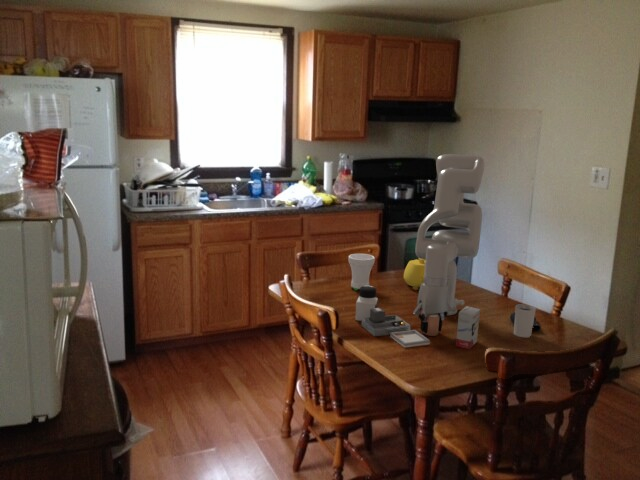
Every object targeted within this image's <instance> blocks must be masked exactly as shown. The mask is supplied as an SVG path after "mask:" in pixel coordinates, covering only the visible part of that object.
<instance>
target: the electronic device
mask: <svg viewBox="0 0 640 480" xmlns="http://www.w3.org/2000/svg"><path fill="white" fill-rule="evenodd" d="M509 320H510V321H511V323H512V324H513V325H514V322H515V312H512V313H510V315H509ZM533 327H534V329H532V330H535V331H534V332H538V331H540V330H541V329H542V328H541V325H540V324H539V323H538V322H537V317H536V315H535V316H534V322H533Z"/></svg>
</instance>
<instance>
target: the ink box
mask: <svg viewBox="0 0 640 480" xmlns="http://www.w3.org/2000/svg"><path fill="white" fill-rule="evenodd" d="M480 313H481V308H476V307H471V306H468V305H467V306H464V308H462V309H461V310H460V311H458V319H457V328H456V329H457V330H456V338H455V347H458V348H461V349H466V350H471V349H472V347H473V346H474V345H475V344H476V343H477V342H478V333H479V323H480Z"/></svg>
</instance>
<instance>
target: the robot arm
mask: <svg viewBox="0 0 640 480" xmlns="http://www.w3.org/2000/svg"><path fill="white" fill-rule="evenodd" d="M435 162H436V163H435V165H436V173H437V184H436V192H435V197H434V198H435V199H434V206H433V209H432V211H431V212H430V213H428V215H426V216H425V217H424V218H423V220H422V221H421V222H420V225H419V226H418V229H417V233H416V241H415V249H414V250H415V251H414V252H415V255H416V257H417V258H418V259H419V258H420V259H425V260H426V261H425V273H424V283H423V284H421V287H419V289H418V294H417V301H416V307H415V309H414V310H413V311H412V312H413V314H414V315H415V316H416V317H418V319H419V320H420V331H421V332H422V333H423V332H424V333H427V328H428V322H426V321H427V319H428V316H429V314H435V313H438V315H439V316H440V317H439V328H438V332H442V327H443V321H444V320H445V318H446V317H447V316H454V315H455V314H457V313H458V308H457V307H458V306H464V305H465V304H466V303H465V300H464V299H458V298H455V295H456V294H455V293H456V287H457V286H456V284H457V273H458V267H457V263H456V261H455V259H456V258H465V259H474V258H476V257H477V255H478V253H479V249H480V241H481V233H482V232H481V231H482V224H483V223H482V222H483V221H482V220H483V211H482V208H481V206H480V205H478V204H476V203H468V202H467V203H466V202H464V198H465V194H477V193H478V191H479V190H480V187H481V183H482V179H483V175H484V171H485V161H484V158H483V157H482V156H480V155H469V154H456V153H447V154H446V153H444V154H441V155H439V156H437V159H436V161H435ZM438 222H439V224H440V225H441V226H443V227H447V228H448V227H449V228H457V229H465V230H467V231H468V232H466V231H457V230H448V229H439V230H436V231H435V232H434V233H433V234H432V236H431V238H428V237H426V234H427V231H428V229H429V228H430V227H431V226H432V225H434V224H435V223H438ZM420 312H421V313H420ZM424 333H423V334H424Z"/></svg>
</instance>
